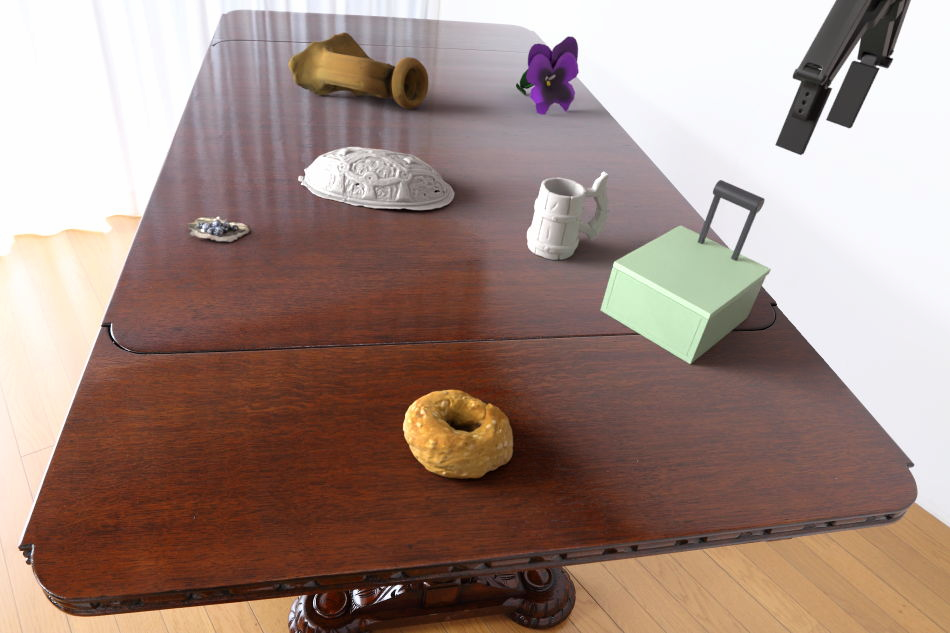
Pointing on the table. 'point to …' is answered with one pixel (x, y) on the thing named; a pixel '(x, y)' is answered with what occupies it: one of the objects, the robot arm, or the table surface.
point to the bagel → (457, 434)
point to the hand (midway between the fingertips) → (815, 136)
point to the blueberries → (217, 229)
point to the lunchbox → (672, 316)
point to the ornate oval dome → (376, 179)
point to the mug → (565, 216)
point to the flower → (551, 74)
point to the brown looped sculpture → (358, 72)
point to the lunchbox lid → (699, 260)
